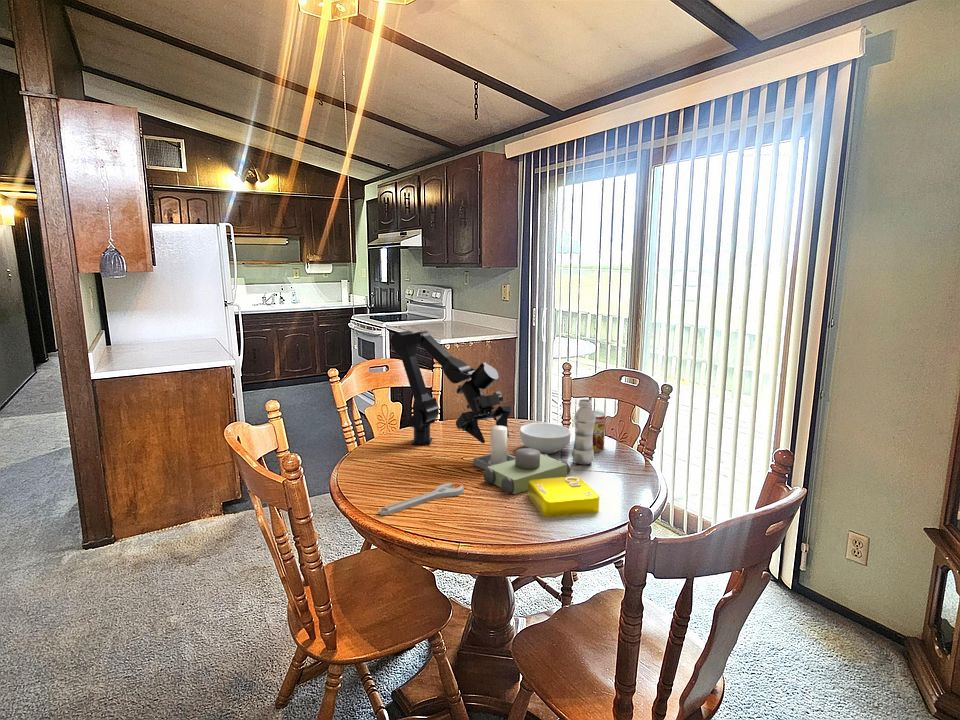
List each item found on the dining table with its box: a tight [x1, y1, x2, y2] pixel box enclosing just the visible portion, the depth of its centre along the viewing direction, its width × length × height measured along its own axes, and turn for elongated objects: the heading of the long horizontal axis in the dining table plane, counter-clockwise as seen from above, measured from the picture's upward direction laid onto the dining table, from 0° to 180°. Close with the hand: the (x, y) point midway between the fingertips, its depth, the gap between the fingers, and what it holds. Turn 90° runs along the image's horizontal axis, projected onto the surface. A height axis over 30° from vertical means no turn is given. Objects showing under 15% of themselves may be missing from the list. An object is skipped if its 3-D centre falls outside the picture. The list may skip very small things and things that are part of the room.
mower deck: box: [473, 447, 571, 495], centre depth 160 cm, size 24×22×8 cm
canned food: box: [592, 410, 606, 453], centre depth 182 cm, size 8×8×12 cm
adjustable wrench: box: [378, 482, 465, 516], centre depth 141 cm, size 25×6×2 cm, turn 126°
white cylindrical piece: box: [487, 425, 508, 465], centre depth 165 cm, size 6×6×12 cm
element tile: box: [527, 475, 600, 518], centre depth 140 cm, size 15×15×5 cm
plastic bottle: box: [571, 398, 596, 466], centre depth 167 cm, size 6×7×20 cm
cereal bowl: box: [519, 422, 571, 454], centre depth 181 cm, size 17×17×7 cm
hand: (496, 440), depth 166 cm, fingers open, 9 cm apart
